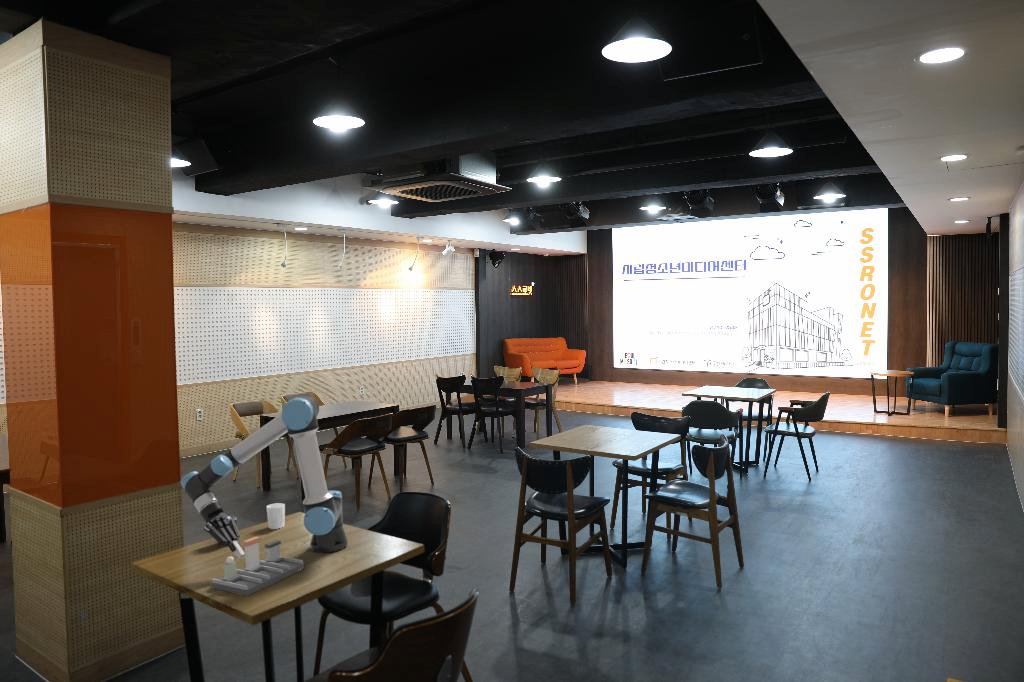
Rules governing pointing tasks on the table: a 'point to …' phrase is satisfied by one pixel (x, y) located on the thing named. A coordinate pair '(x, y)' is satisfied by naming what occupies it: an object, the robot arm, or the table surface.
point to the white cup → (276, 515)
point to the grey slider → (273, 551)
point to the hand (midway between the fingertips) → (241, 556)
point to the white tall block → (252, 554)
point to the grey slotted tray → (260, 576)
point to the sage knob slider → (230, 570)
